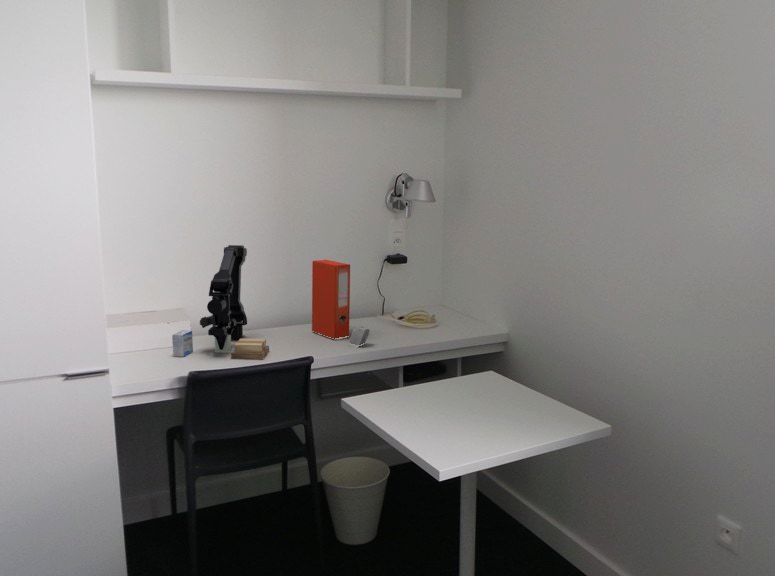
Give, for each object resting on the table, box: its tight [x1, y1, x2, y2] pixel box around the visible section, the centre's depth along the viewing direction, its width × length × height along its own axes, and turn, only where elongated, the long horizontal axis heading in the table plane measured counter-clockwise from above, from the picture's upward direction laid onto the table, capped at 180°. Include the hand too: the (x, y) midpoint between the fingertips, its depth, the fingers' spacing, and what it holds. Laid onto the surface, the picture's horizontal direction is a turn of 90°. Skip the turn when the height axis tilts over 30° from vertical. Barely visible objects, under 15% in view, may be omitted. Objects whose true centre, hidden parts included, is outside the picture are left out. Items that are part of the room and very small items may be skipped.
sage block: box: [214, 335, 232, 354], centre depth 271 cm, size 5×5×6 cm
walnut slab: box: [230, 345, 270, 361], centre depth 266 cm, size 12×12×3 cm
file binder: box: [311, 259, 351, 339], centre depth 297 cm, size 8×17×32 cm, turn 39°
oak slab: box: [234, 337, 267, 353], centre depth 266 cm, size 10×10×3 cm
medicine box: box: [171, 329, 194, 358], centre depth 266 cm, size 8×4×9 cm, turn 168°
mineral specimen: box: [348, 326, 371, 345], centre depth 283 cm, size 7×9×8 cm
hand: (223, 347), depth 272 cm, fingers closed on sage block, 5 cm apart
